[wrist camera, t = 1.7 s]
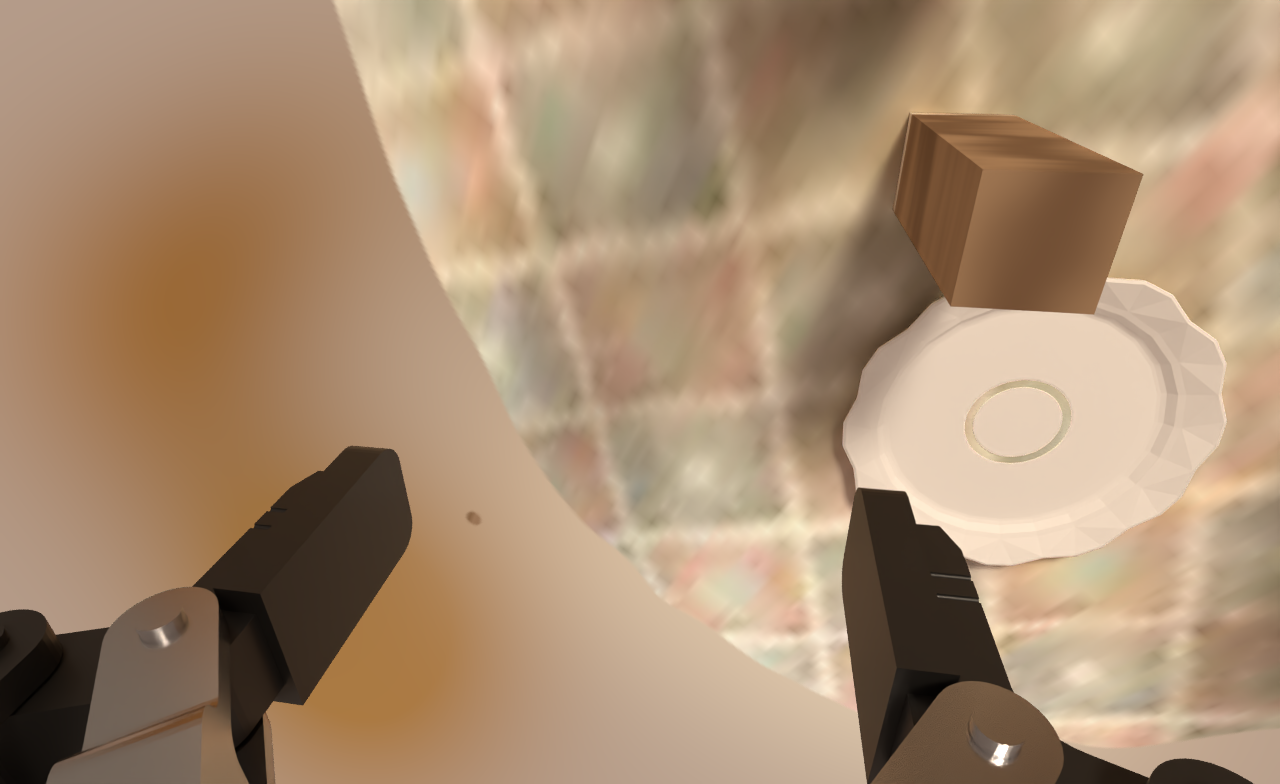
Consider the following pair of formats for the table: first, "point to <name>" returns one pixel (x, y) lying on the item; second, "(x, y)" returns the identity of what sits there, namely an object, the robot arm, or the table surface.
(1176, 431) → the plate
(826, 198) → the table surface
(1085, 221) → the walnut block
